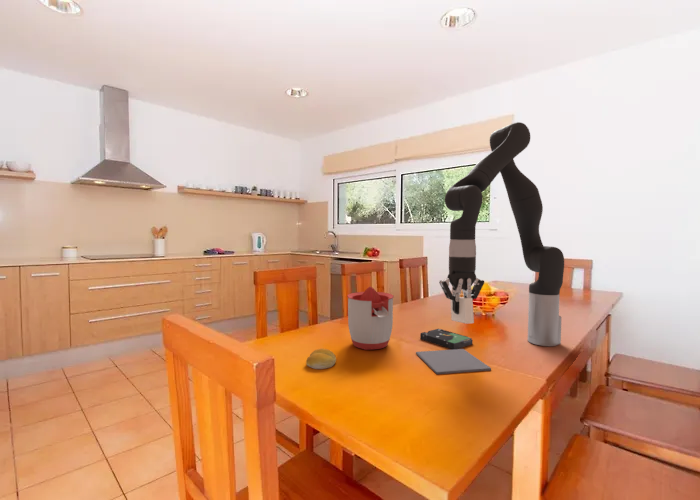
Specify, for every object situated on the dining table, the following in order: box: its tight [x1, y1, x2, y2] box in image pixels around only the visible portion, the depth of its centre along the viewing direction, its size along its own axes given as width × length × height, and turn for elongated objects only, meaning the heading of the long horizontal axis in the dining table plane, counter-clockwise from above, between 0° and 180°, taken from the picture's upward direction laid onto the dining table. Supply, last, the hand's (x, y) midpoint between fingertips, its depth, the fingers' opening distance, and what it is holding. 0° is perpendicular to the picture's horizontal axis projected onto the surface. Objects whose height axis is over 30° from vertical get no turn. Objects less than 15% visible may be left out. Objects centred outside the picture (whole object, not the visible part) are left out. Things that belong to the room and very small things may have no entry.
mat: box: [415, 348, 492, 375], centre depth 103 cm, size 16×16×1 cm
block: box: [449, 296, 475, 325], centre depth 103 cm, size 2×9×7 cm, turn 10°
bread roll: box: [305, 348, 337, 370], centre depth 102 cm, size 8×9×4 cm
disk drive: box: [419, 328, 473, 350], centre depth 122 cm, size 10×3×15 cm
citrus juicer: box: [347, 286, 395, 351], centre depth 117 cm, size 16×17×20 cm
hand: (461, 313), depth 103 cm, fingers closed on block, 2 cm apart
